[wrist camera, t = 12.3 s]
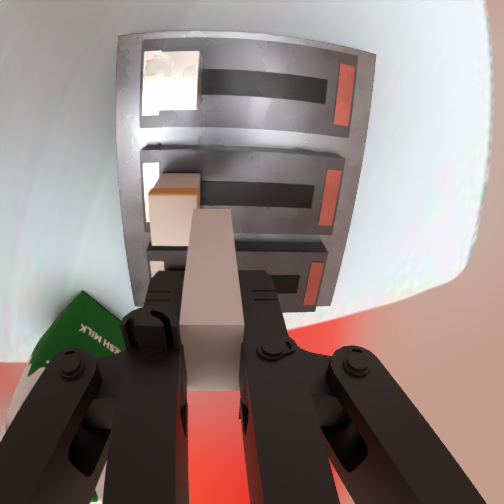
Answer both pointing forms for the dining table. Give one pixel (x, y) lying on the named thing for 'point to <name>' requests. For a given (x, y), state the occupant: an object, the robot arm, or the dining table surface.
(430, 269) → the dining table surface
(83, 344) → the milk carton
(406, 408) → the robot arm
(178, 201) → the toggle
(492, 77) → the dining table surface
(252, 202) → the breaker panel
